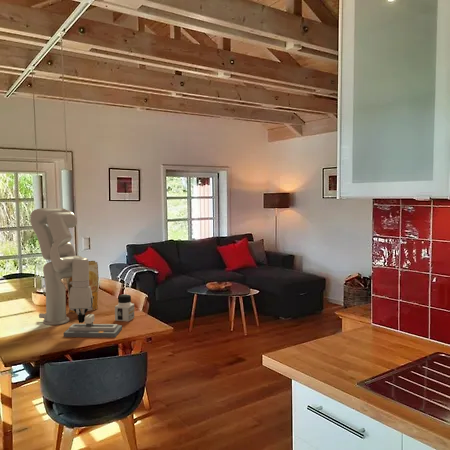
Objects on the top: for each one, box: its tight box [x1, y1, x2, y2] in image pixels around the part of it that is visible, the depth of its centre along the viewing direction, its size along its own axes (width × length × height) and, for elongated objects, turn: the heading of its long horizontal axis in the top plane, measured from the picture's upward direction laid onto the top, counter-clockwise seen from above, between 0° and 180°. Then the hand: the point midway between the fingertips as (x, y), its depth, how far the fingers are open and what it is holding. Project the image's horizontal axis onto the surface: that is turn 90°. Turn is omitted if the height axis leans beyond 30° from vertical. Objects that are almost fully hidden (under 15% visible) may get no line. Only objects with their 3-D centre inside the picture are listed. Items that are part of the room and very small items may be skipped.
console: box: [63, 323, 123, 338], centre depth 200 cm, size 24×12×4 cm, turn 89°
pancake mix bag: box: [65, 260, 100, 314], centre depth 238 cm, size 7×19×28 cm, turn 123°
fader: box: [84, 313, 95, 327], centre depth 200 cm, size 3×5×6 cm, turn 179°
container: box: [114, 293, 135, 322], centre depth 223 cm, size 8×8×13 cm
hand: (81, 322), depth 200 cm, fingers closed
